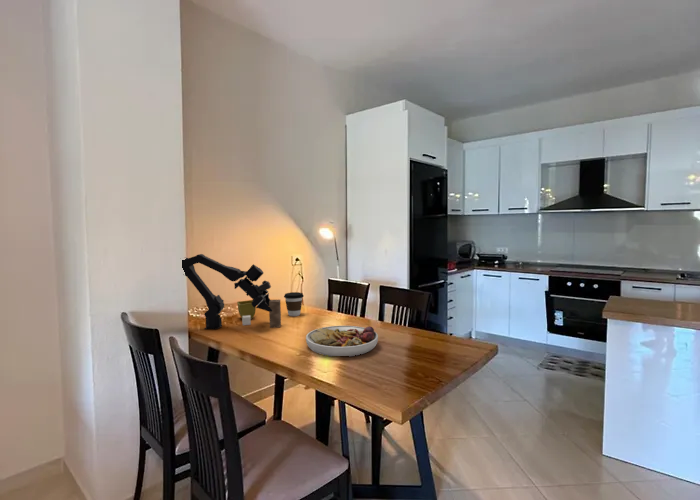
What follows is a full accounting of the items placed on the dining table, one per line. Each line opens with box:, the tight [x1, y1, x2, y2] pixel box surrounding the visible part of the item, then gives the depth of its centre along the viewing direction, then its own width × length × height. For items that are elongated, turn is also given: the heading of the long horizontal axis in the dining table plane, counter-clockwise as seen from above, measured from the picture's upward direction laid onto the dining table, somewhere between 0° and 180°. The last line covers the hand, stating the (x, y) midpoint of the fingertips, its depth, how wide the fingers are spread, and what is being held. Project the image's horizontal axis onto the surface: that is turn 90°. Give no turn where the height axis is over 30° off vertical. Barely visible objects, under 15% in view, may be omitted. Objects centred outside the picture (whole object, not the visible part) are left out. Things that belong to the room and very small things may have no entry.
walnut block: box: [268, 299, 282, 329], centre depth 189 cm, size 5×5×13 cm
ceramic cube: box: [241, 315, 252, 326], centre depth 194 cm, size 4×4×4 cm
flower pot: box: [236, 299, 257, 320], centre depth 205 cm, size 9×9×9 cm
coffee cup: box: [283, 291, 304, 317], centre depth 212 cm, size 11×11×12 cm
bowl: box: [305, 325, 379, 357], centre depth 158 cm, size 30×30×8 cm
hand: (272, 309), depth 189 cm, fingers open, 9 cm apart
